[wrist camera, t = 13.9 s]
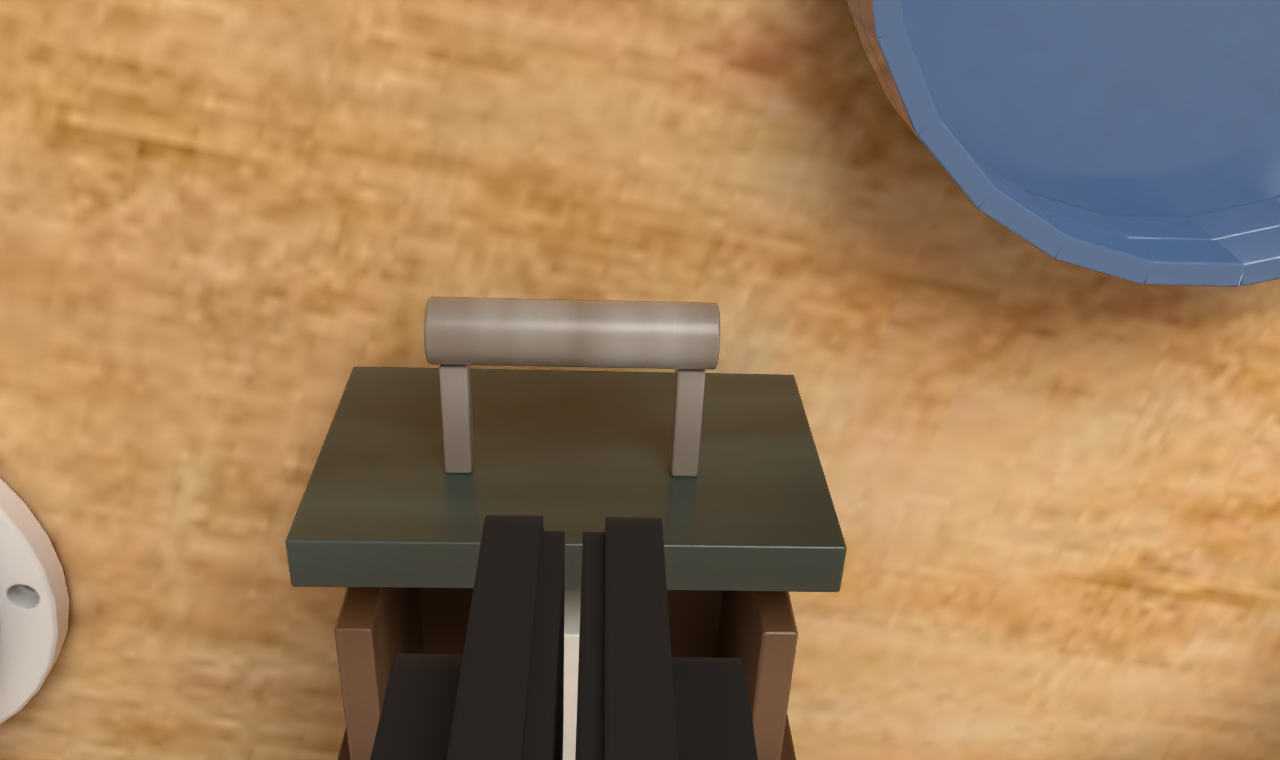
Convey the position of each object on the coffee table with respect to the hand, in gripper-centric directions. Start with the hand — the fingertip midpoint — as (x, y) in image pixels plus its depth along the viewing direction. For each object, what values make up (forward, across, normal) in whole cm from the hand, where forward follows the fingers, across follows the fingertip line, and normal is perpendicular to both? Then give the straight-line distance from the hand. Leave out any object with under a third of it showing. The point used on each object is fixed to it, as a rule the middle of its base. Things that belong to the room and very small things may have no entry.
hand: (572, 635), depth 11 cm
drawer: (+17, 0, +11) cm, 21 cm away
